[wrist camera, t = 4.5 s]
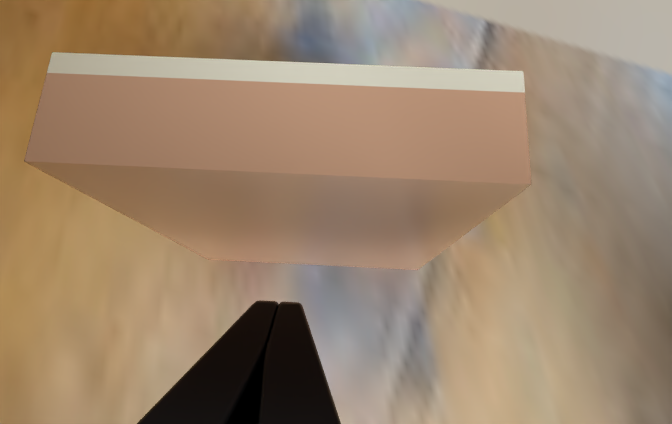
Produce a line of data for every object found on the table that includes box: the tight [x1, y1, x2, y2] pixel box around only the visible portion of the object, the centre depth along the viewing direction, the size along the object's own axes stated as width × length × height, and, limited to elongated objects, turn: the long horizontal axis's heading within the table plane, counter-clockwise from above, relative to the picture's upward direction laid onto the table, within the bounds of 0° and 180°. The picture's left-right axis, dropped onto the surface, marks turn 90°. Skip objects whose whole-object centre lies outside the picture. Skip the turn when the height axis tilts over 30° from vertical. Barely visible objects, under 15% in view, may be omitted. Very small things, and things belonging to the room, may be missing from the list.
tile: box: [24, 52, 531, 270], centre depth 12 cm, size 2×8×10 cm, turn 87°
